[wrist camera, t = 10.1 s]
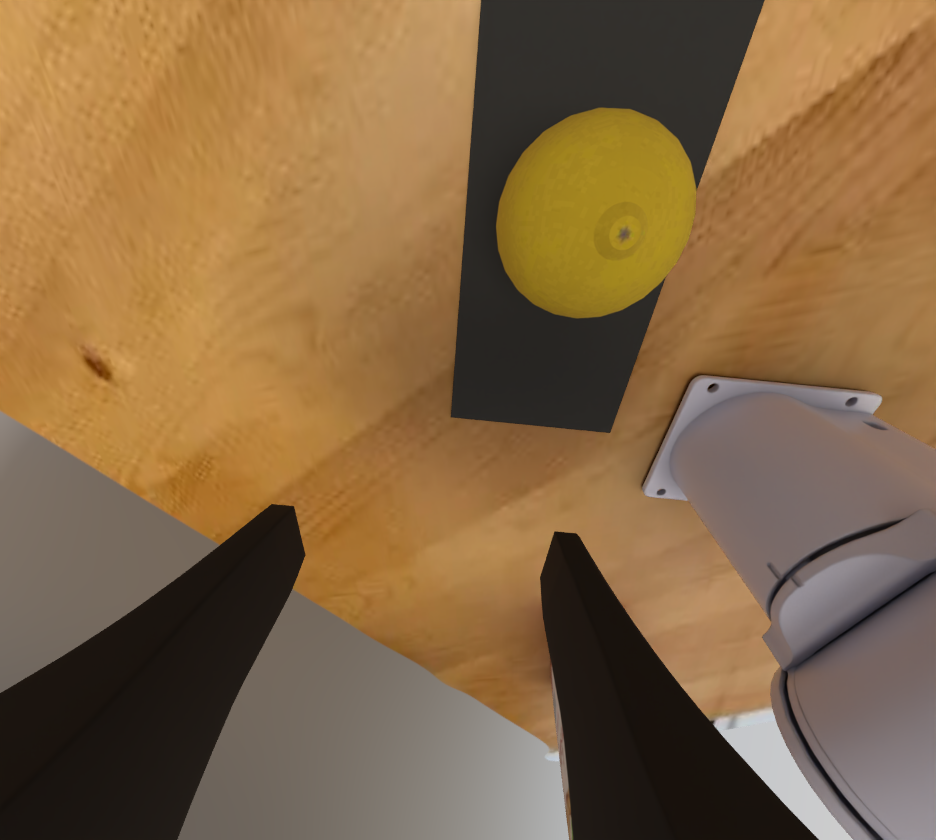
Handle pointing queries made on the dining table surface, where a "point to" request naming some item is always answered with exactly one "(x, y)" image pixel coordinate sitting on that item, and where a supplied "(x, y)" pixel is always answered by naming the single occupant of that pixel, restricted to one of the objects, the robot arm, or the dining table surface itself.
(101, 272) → the dining table surface
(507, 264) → the lemon
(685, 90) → the mat
